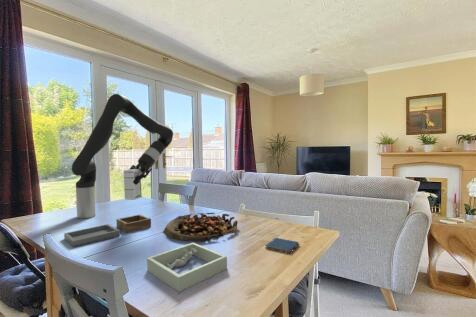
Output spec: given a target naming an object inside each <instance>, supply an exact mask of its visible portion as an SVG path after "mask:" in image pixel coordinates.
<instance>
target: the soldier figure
mask: <svg viewBox="0 0 476 317" xmlns="http://www.w3.org/2000/svg"><path fill="white" fill-rule="evenodd" d="M182 250H184V251H186V253H187V254H186V255H184V256H183V257H182V259H175V260H174V262H172V263H170V264H167V265H166V267H167V268H169V269H171V270H173V268H174V267H184V266H185V265H186V263H187V262H188V260H191V259H192V257H193V256H195V254H196V253H197V250H195V249H194V248H191V251H192V252H188V251H187V250H185V249H182ZM195 257H196V256H195Z"/></svg>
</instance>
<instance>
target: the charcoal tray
mask: <svg viewBox="0 0 476 317" xmlns="http://www.w3.org/2000/svg"><path fill="white" fill-rule="evenodd" d="M120 230H121V229H119V228H117V227H115V226H113V225H111V224H109V223H107V224H101V225H98V226H97V225H96V226H93V227H88V228H83V229H79V230H73V231H69V232H64V233H63V234H64V235H63V236H64V238H63V239H64V240H65V241H66V242H67V243H68V244H69V245H70V246H71V247H72V248H77V247H80V246H81V247H82V246H84V245H88V244H92V243H93V244H94V243H97V242H100V241H101V242H102V241H105V240H108V239H112V238H116V237H117V238H118V237H120V234H121V233H120Z"/></svg>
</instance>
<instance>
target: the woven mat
mask: <svg viewBox="0 0 476 317" xmlns="http://www.w3.org/2000/svg"><path fill="white" fill-rule="evenodd" d="M297 246H298V247H299V246H300V243H299V241H296V240H293V241H292V240H290V239H286V238H279V237H276V238H272V240H270V241H268V242H267V244H265V247H264V248H265V249H266V250H269V249H271V251H275V250H277V251H279V253H283V252H285V254H286V253H287V252H288V253H287V254H289V253H291V252H292V253H293V252H294V251H295V250H296V249H297V248H298V247H297ZM295 248H296V249H295ZM292 250H294V251H292ZM292 253H291V254H292Z"/></svg>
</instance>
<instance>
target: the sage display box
mask: <svg viewBox="0 0 476 317" xmlns="http://www.w3.org/2000/svg"><path fill="white" fill-rule="evenodd" d="M191 248H194V249H195V250H197V253H196V254H195V257H196V258H199V259H200V260H201V259H202V260H203V261H205V262H207V263H204V264H202V265H200V266H199V265H198V266H197V267H195V268H193V269H190V270H188V271H185V272H183V273H181V274H179V273H177V272H176V271H174V270H173V269H169V267H168V266H167V264H169V265H171V264H172V263H174V260H175V259H182V257H183V256H184V255H186V254H187V253H186V251H184V250H182V249H185V250H187V251H188V252H192V251H191ZM146 265H147V266H146V269H147V271H148V272H149V273H150V274H152V275H154V276H155V277H156V278H158V279H160V280H161V281H162V282H163V283H165V284H166V285H168V286H170V287H171V288H173V289H174V290H175V291H177V292H178V293H179V292H181V291H183V290H186V289H188V288H190V287H192V286H194V285H197V284H199V283H201V282H202V281H204V280H207V279H209V278H211V277H213V276H215V275H217V274H219V273H222V272H223V271H225V270H227V269H228V257H227V256H226V255H224V254H222V253H219V252H217V251H215V250H212V249H210V248H207V247H205V246H203V245H200V244H197V243H196V242H190V243H187V244H184V245H182V246H178V247H176V248H173V249H169V250H167V251H164V252H161V253H158V254H154V255H152V256H149V257H147V258H146Z"/></svg>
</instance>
